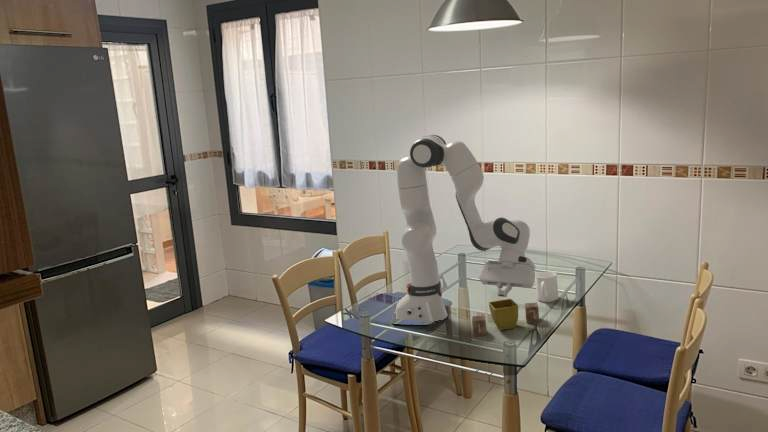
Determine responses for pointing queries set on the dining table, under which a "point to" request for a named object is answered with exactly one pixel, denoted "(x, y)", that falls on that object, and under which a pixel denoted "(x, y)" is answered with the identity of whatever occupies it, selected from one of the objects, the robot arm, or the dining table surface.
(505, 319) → the flower pot
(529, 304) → the numbered block seven
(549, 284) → the mug
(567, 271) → the dining table surface
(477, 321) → the numbered block one
